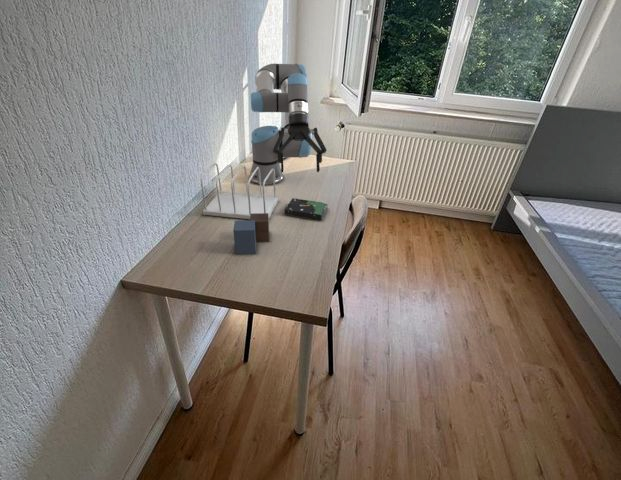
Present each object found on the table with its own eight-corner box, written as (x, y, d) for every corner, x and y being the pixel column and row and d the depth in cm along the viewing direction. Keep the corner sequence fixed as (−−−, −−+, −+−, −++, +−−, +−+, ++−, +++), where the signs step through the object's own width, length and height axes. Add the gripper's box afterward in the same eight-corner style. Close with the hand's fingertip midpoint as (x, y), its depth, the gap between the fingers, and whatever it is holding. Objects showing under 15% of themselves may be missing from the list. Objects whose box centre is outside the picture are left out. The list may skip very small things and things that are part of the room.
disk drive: (284, 215, 134) (321, 221, 131) (284, 209, 132) (322, 214, 129) (292, 203, 142) (327, 208, 139) (292, 197, 141) (327, 202, 138)
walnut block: (251, 233, 122) (250, 213, 118) (269, 232, 123) (268, 213, 118) (251, 242, 118) (249, 221, 113) (269, 241, 118) (268, 221, 114)
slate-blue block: (237, 243, 116) (234, 220, 112) (256, 243, 117) (254, 220, 112) (235, 254, 112) (233, 230, 107) (255, 253, 112) (254, 230, 107)
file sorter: (278, 201, 143) (277, 165, 135) (267, 222, 129) (265, 183, 120) (219, 195, 146) (215, 159, 137) (203, 215, 132) (197, 177, 123)
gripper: (265, 111, 127) (267, 169, 126) (332, 112, 130) (334, 168, 129) (265, 119, 135) (267, 173, 134) (329, 120, 137) (331, 173, 136)
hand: (300, 171), depth 131 cm, fingers open, 13 cm apart
